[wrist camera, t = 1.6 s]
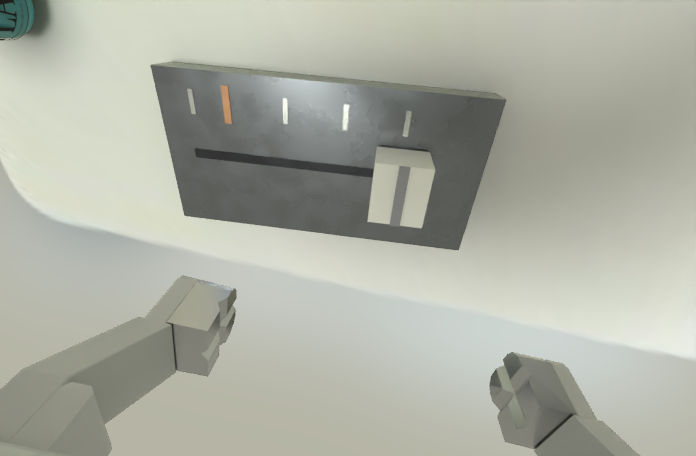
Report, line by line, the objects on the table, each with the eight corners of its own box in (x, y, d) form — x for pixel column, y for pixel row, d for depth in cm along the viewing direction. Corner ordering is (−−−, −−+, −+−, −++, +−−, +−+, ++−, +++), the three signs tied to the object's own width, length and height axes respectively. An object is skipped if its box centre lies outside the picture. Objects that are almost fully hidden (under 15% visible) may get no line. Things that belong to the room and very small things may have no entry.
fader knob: (429, 152, 27) (435, 171, 23) (418, 205, 29) (421, 229, 26) (376, 146, 27) (374, 164, 23) (370, 199, 29) (367, 222, 26)
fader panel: (495, 93, 27) (506, 100, 24) (453, 233, 34) (458, 250, 31) (172, 61, 28) (149, 64, 26) (199, 202, 36) (184, 216, 33)
